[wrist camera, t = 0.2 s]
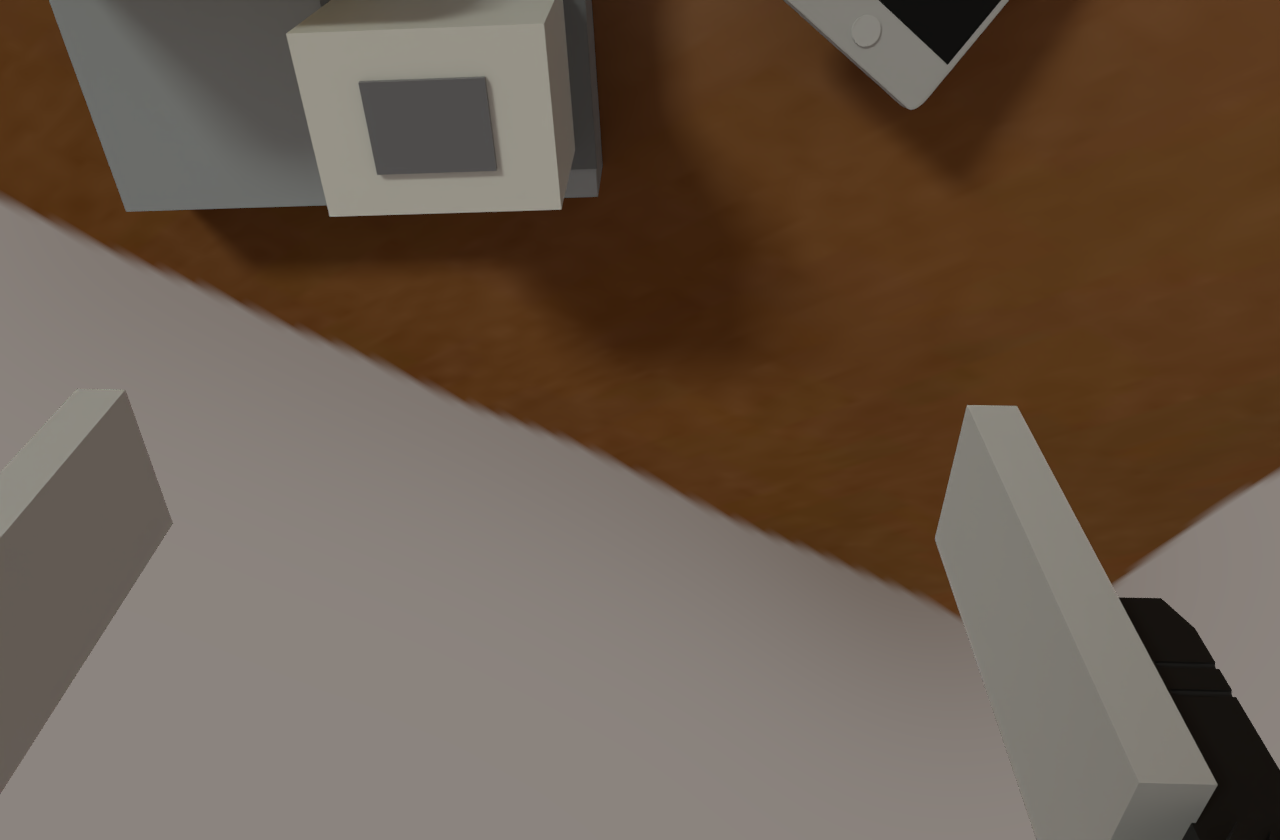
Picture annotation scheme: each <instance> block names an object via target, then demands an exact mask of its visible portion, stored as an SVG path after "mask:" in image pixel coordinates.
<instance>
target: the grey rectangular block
mask: <svg viewBox="0 0 1280 840" xmlns="http://www.w3.org/2000/svg"><path fill="white" fill-rule="evenodd" d="M286 36H287V40H288V44H289V49H290V53H291V57H292V61H293V65H294V70H295V74H296V78H297V82H298V86H299V91H300V95H301V99H302V103H303V107H304V111H305V116H306V120H307V124H308V128H309V132H310V137H311V141H312V145H313V149H314V153H315V157H316V162H317V166H318V170H319V174H320V178H321V183H322V187H323V191H324V195H325V199H326V203H327V208H328V212H329V216H330V217H339V216H371V215H403V214H436V213H468V212H501V211H533V210H561V209H562V205H563V200H564V196H565V192H566V187H567V183H568V179H569V174H570V170H571V166H572V161H573V157H574V153H575V141H574V129H573V117H572V104H571V92H570V80H569V68H568V55H567V43H566V31H565V19H564V7H563V0H330V1H329V2H328V3H326V4H325V5H324V6H322V7H321V8H320V9H318V10H317V11H316V12H314V13H313V14H312V15H310V16H309V17H308V18H306V19H305V20H304V21H302V22H301V23H300V24H298V25H297V26H296V27H294V28H293V29H291V30H290V31H289V32H287V33H286Z"/></svg>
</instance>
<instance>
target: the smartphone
mask: <svg viewBox="0 0 1280 840" xmlns="http://www.w3.org/2000/svg"><path fill="white" fill-rule="evenodd" d="M784 1H785V2H786V3H787V4H788V5H789V6H790V7H791V8H792V9H794V10H795V11H796V12H797V13H798V14H799V15H800V16H801V17H803V18H804V19H805V20H806V21H807V22H808V23H809V24H810V25H811V26H813V27H814V28H815V29H816V30H817V31H818V32H819V33H820V34H822V35H823V36H824V37H825V38H826V39H827V40H828V41H829V42H830V43H832V44H833V45H834V46H835V47H836V48H837V49H838V50H839V51H841V52H842V53H843V54H844V55H845V56H846V57H847V58H848V59H849V60H851V61H852V62H853V63H854V64H855V65H856V66H857V67H858V68H859V69H861V70H862V71H863V72H864V73H865V74H866V75H867V76H868V77H870V78H871V79H872V80H873V81H874V82H875V83H876V84H877V85H878V86H880V87H881V88H882V89H883V90H884V91H885V92H886V93H887V94H889V95H890V96H891V97H892V98H893V99H894V100H895V101H896V102H897V103H899V104H900V105H901V106H902V107H905V108H907V109H910V110H913V109H916V108H918V107H919V106H920V105H922V104H923V103H924V102H925V101H926V100H927V99H928V97H929V96H930V95H931V94H932V93H933V91H934V90H935V89H936V88H937V87H938V85H939V84H940V83H941V82H942V81H943V79H944V78H945V77H946V76H947V75H948V73H949V72H950V71H951V70H952V69H953V67H954V66H955V65H956V64H957V62H958V61H959V60H960V59H961V58H962V56H963V55H964V54H965V53H966V52H967V50H968V49H969V48H970V47H971V46H972V44H973V43H974V42H975V41H976V40H977V38H978V37H979V36H980V35H981V34H982V32H983V31H984V30H985V29H986V28H987V26H988V25H989V24H990V23H991V22H992V20H993V19H994V18H995V17H996V15H997V14H998V13H999V12H1000V11H1001V9H1002V8H1003V7H1004V6H1005V5H1006V3H1007V2H1008V1H1009V0H784Z"/></svg>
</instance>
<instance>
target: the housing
mask: <svg viewBox="0 0 1280 840" xmlns="http://www.w3.org/2000/svg"><path fill="white" fill-rule="evenodd" d="M329 1H330V0H49V2H50V4H51V7H52V10H53V12H54V15H55V18H56V21H57V23H58V26H59V29H60V32H61V34H62V37H63V40H64V43H65V45H66V48H67V51H68V54H69V56H70V59H71V62H72V64H73V67H74V70H75V73H76V75H77V78H78V81H79V84H80V86H81V89H82V92H83V95H84V97H85V100H86V103H87V106H88V108H89V111H90V114H91V117H92V119H93V122H94V125H95V127H96V130H97V133H98V136H99V138H100V141H101V144H102V147H103V149H104V152H105V155H106V158H107V160H108V163H109V166H110V169H111V171H112V174H113V177H114V180H115V182H116V185H117V188H118V190H119V193H120V196H121V199H122V201H123V204H124V207H125V210H126V212H129V211H161V210H193V209H225V208H257V207H289V206H321V205H327V203H326V199H325V195H324V191H323V187H322V183H321V178H320V174H319V170H318V166H317V162H316V157H315V153H314V149H313V145H312V141H311V137H310V132H309V128H308V124H307V120H306V116H305V111H304V107H303V103H302V99H301V95H300V91H299V86H298V82H297V78H296V74H295V70H294V65H293V61H292V57H291V53H290V49H289V44H288V40H287V36H286V33H287V32H289V31H290V30H291V29H293V28H294V27H296V26H297V25H298V24H300V23H301V22H302V21H304V20H305V19H306V18H308V17H309V16H310V15H312V14H313V13H314V12H316V11H317V10H318V9H320V8H321V7H322V6H324V5H325V4H326V3H328V2H329ZM563 7H564V19H565V31H566V43H567V55H568V68H569V80H570V92H571V104H572V117H573V129H574V141H575V153H574V157H573V161H572V166H571V170H570V174H569V179H568V183H567V187H566V192H565V196H564V198H576V197H598V193H599V187H600V180H601V174H602V167H603V163H602V148H601V133H600V118H599V103H598V88H597V72H596V57H595V42H594V27H593V12H592V0H563Z"/></svg>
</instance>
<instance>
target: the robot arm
mask: <svg viewBox="0 0 1280 840" xmlns="http://www.w3.org/2000/svg"><path fill="white" fill-rule="evenodd" d="M172 524H173V523H172V520H171V517H170V514H169V511H168V508H167V506H166V503H165V500H164V497H163V494H162V492H161V489H160V486H159V483H158V481H157V478H156V475H155V472H154V470H153V466H152V464H151V461H150V458H149V455H148V453H147V449H146V447H145V444H144V441H143V438H142V435H141V433H140V430H139V427H138V424H137V421H136V418H135V416H134V413H133V410H132V407H131V405H130V402H129V399H128V396H127V393H126V391H125V390H109V389H76V391H75V392H74V393H73V394H72V395H71V396H70V397H69V398H68V399H67V400H66V401H65V402H64V403H63V405H62V406H61V407H60V408H59V409H58V410H57V411H56V412H55V413H54V414H53V415H52V416H51V418H50V419H49V420H48V421H47V422H46V423H45V424H44V425H43V426H42V427H41V428H40V430H39V431H38V432H37V433H36V434H35V435H34V436H33V437H32V438H31V439H30V440H29V441H28V443H27V444H26V445H25V446H24V447H23V448H22V449H21V450H20V451H19V452H18V453H17V454H16V456H15V457H14V458H13V459H12V460H11V461H10V462H9V463H8V464H7V465H6V466H5V468H4V469H3V470H2V471H1V472H0V794H1V792H2V790H3V789H4V787H5V786H6V784H7V783H8V781H9V779H10V778H11V776H12V775H13V773H14V772H15V770H16V769H17V767H18V765H19V764H20V762H21V761H22V759H23V758H24V756H25V754H26V753H27V751H28V750H29V748H30V747H31V745H32V743H33V742H34V740H35V739H36V737H37V736H38V734H39V732H40V731H41V729H42V728H43V726H44V725H45V723H46V722H47V720H48V718H49V717H50V715H51V714H52V712H53V711H54V709H55V707H56V706H57V704H58V703H59V701H60V700H61V698H62V696H63V695H64V693H65V692H66V690H67V688H68V687H69V685H70V684H71V682H72V680H73V679H74V678H75V676H76V674H77V673H78V671H79V670H80V668H81V667H82V665H83V663H84V662H85V660H86V659H87V657H88V656H89V654H90V653H91V651H92V649H93V648H94V646H95V645H96V643H97V642H98V640H99V638H100V637H101V635H102V634H103V632H104V630H105V629H106V627H107V626H108V624H109V623H110V621H111V619H112V618H113V616H114V615H115V613H116V612H117V610H118V609H119V607H120V605H121V604H122V602H123V601H124V599H125V598H126V596H127V594H128V593H129V591H130V590H131V588H132V587H133V585H134V583H135V582H136V580H137V579H138V577H139V576H140V574H141V572H142V571H143V569H144V568H145V566H146V565H147V563H148V562H149V560H150V558H151V557H152V555H153V554H154V552H155V551H156V549H157V547H158V546H159V544H160V543H161V541H162V540H163V538H164V536H165V535H166V533H167V532H168V530H169V529H170V527H171V525H172ZM935 541H936V544H937V547H938V550H939V553H940V556H941V559H942V562H943V565H944V568H945V571H946V573H947V576H948V579H949V582H950V585H951V588H952V591H953V594H954V597H955V600H956V603H957V606H958V609H959V612H960V615H961V618H962V621H963V624H964V627H965V630H966V633H967V636H968V639H969V641H970V644H971V648H972V650H973V653H974V656H975V659H976V662H977V665H978V668H979V671H980V674H981V677H982V680H983V683H984V686H985V689H986V692H987V695H988V698H989V701H990V703H991V706H992V710H993V713H994V716H995V719H996V721H997V725H998V727H999V730H1000V733H1001V736H1002V739H1003V742H1004V745H1005V748H1006V751H1007V754H1008V757H1009V760H1010V763H1011V766H1012V769H1013V772H1014V775H1015V778H1016V781H1017V783H1018V787H1019V790H1020V793H1021V795H1022V799H1023V802H1024V805H1025V807H1026V810H1027V813H1028V816H1029V819H1030V822H1031V825H1032V828H1033V831H1034V834H1035V837H1036V840H1280V770H1279V768H1278V767H1277V765H1276V763H1275V762H1274V760H1273V758H1272V757H1271V755H1270V753H1269V752H1268V750H1267V748H1266V747H1265V745H1264V743H1263V742H1262V740H1261V738H1260V736H1259V735H1258V733H1257V732H1256V730H1255V728H1254V726H1253V725H1252V723H1251V721H1250V720H1249V718H1248V716H1247V715H1246V713H1245V712H1244V710H1243V708H1242V706H1241V705H1240V703H1239V701H1238V700H1237V698H1236V697H1232V694H1231V691H1232V690H1231V688H1230V686H1229V685H1228V683H1227V681H1226V680H1225V678H1224V676H1223V675H1222V673H1221V671H1220V670H1219V669H1216V668H1215V661H1214V660H1213V658H1212V656H1211V655H1210V653H1209V651H1208V650H1207V648H1206V646H1205V645H1204V643H1203V641H1202V640H1201V638H1200V636H1199V635H1198V633H1197V631H1196V630H1195V628H1194V627H1192V626H1191V625H1190V624H1189V623H1188V622H1187V621H1186V620H1185V619H1184V618H1182V617H1181V616H1180V615H1179V614H1178V613H1177V612H1176V611H1174V609H1172V608H1171V607H1170V606H1169V605H1168V604H1167V603H1166V602H1165V601H1163V600H1162V599H1161V598H1118V596H1117V594H1116V592H1115V590H1114V588H1113V586H1112V584H1111V582H1110V581H1109V579H1108V577H1107V575H1106V573H1105V571H1104V569H1103V567H1102V566H1101V564H1100V562H1099V560H1098V558H1097V556H1096V554H1095V552H1094V550H1093V549H1092V547H1091V545H1090V543H1089V541H1088V539H1087V537H1086V535H1085V533H1084V532H1083V530H1082V528H1081V526H1080V524H1079V522H1078V520H1077V518H1076V516H1075V515H1074V513H1073V511H1072V509H1071V507H1070V505H1069V503H1068V501H1067V500H1066V498H1065V496H1064V494H1063V492H1062V490H1061V488H1060V486H1059V484H1058V483H1057V481H1056V479H1055V477H1054V475H1053V473H1052V471H1051V469H1050V467H1049V466H1048V464H1047V462H1046V460H1045V458H1044V456H1043V454H1042V452H1041V451H1040V449H1039V447H1038V445H1037V443H1036V441H1035V439H1034V437H1033V435H1032V434H1031V432H1030V430H1029V428H1028V426H1027V424H1026V422H1025V420H1024V418H1023V417H1022V415H1021V413H1020V411H1019V409H1018V407H1017V406H985V405H967V408H966V412H965V416H964V420H963V424H962V428H961V433H960V437H959V441H958V445H957V449H956V453H955V457H954V462H953V466H952V470H951V474H950V478H949V482H948V486H947V491H946V495H945V499H944V503H943V507H942V511H941V516H940V520H939V524H938V528H937V532H936V536H935Z"/></svg>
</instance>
